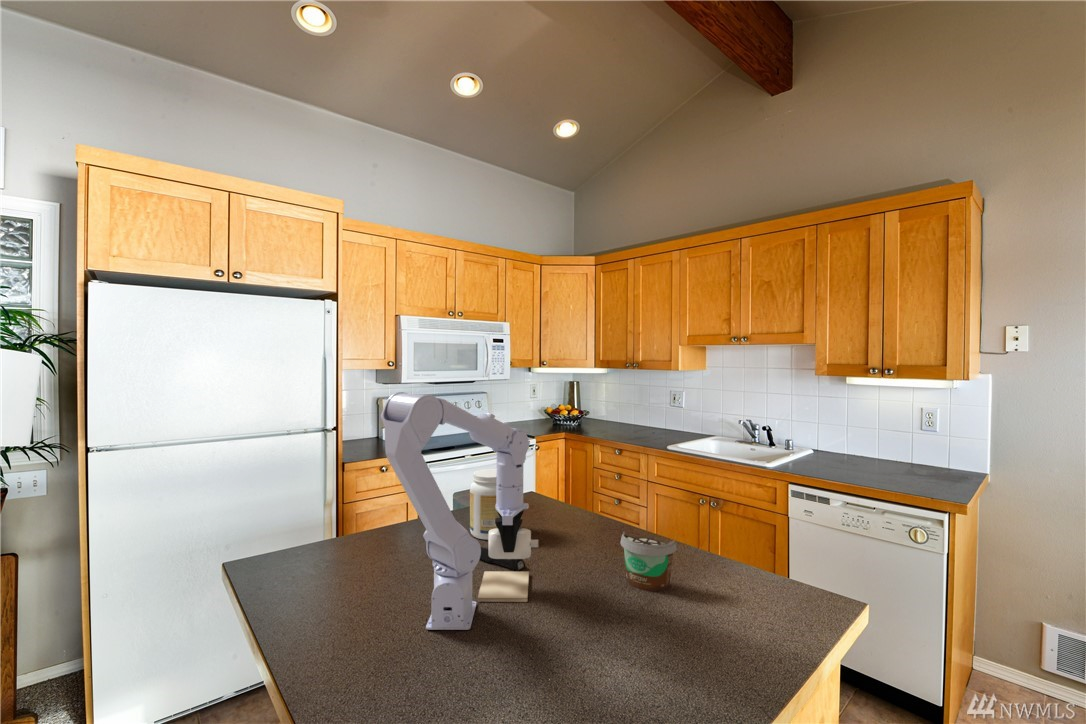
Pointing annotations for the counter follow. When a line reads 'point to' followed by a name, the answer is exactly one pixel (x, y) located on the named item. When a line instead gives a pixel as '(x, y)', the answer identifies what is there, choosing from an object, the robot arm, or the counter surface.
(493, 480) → the supplement tub
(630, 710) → the counter surface
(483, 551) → the electric trimmer
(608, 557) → the counter surface
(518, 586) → the cutting board
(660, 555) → the food container
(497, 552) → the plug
